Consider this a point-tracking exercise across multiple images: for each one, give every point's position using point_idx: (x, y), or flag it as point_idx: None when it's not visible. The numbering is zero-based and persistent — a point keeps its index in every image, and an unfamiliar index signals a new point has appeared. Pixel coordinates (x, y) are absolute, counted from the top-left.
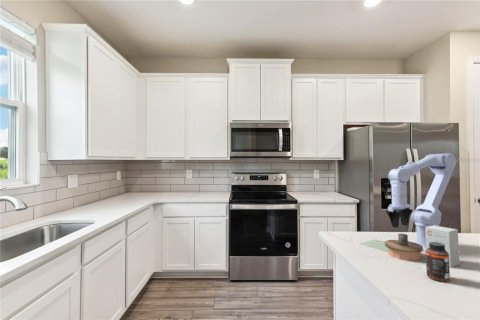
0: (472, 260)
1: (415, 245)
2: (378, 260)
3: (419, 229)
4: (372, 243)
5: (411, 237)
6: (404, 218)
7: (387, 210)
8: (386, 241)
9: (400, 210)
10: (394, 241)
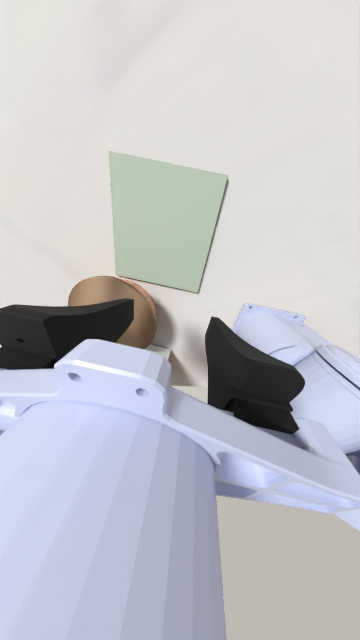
0: (201, 384)
1: (130, 343)
2: (55, 279)
3: (259, 349)
4: (156, 199)
5: (356, 278)
6: (213, 349)
7: (8, 320)
8: (95, 281)
9: (233, 374)
10: (118, 298)
